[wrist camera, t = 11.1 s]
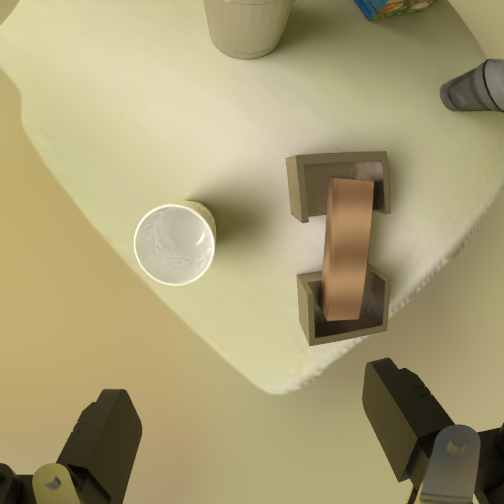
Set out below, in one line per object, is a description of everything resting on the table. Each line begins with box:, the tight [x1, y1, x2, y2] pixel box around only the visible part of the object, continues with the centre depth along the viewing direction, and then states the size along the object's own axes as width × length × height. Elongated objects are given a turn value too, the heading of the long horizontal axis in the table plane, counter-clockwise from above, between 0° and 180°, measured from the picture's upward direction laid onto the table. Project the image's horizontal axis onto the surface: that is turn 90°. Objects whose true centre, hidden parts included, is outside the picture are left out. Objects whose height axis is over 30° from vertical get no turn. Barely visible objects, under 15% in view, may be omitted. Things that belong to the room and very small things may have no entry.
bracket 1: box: [286, 151, 390, 223], centre depth 34 cm, size 7×10×6 cm
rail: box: [319, 178, 374, 321], centre depth 34 cm, size 16×4×4 cm, turn 179°
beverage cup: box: [440, 59, 504, 113], centre depth 24 cm, size 7×7×20 cm
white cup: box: [134, 200, 216, 286], centre depth 33 cm, size 8×8×10 cm
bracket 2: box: [297, 265, 390, 346], centre depth 38 cm, size 7×10×6 cm
